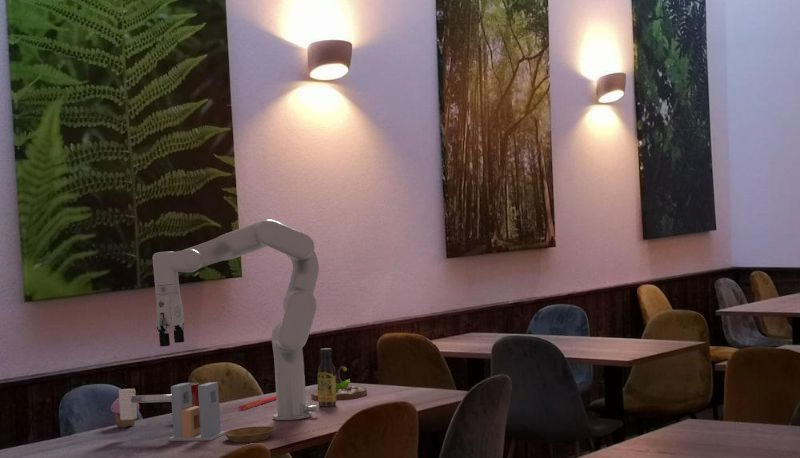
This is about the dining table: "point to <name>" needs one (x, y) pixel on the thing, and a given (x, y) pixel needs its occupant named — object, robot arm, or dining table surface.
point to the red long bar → (257, 402)
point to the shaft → (130, 399)
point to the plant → (344, 389)
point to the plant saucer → (249, 434)
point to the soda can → (195, 394)
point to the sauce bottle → (326, 379)
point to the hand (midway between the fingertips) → (172, 344)
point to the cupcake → (116, 410)
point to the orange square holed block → (191, 421)
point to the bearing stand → (206, 409)
